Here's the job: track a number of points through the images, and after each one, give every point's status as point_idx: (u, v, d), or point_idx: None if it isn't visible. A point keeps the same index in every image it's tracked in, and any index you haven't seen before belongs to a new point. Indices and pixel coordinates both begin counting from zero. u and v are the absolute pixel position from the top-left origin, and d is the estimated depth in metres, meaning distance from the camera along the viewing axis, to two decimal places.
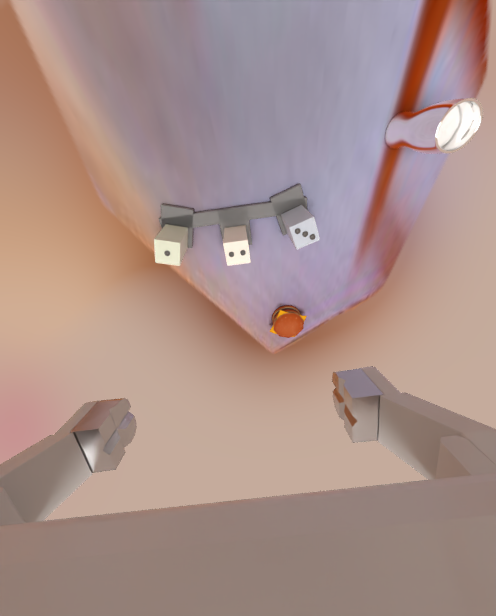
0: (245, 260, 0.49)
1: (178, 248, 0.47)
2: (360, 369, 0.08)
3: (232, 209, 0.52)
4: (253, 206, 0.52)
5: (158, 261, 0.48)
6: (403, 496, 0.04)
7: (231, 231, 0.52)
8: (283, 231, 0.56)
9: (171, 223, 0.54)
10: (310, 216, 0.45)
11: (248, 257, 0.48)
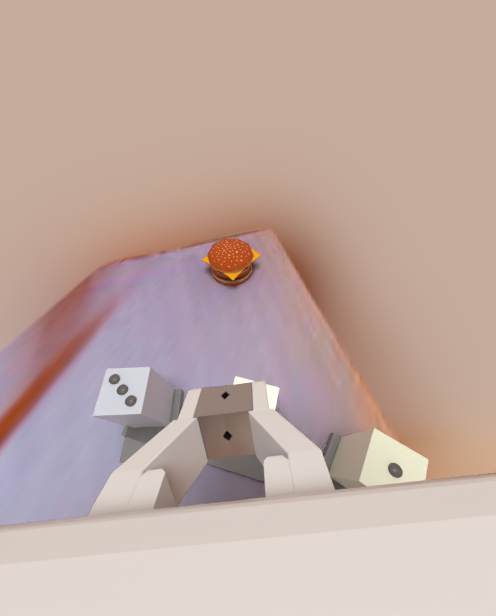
0: None
1: (366, 469, 0.21)
2: (249, 383, 0.08)
3: (239, 471, 0.30)
4: None
5: (419, 458, 0.22)
6: (404, 496, 0.04)
7: None
8: (178, 395, 0.35)
9: None
10: (100, 417, 0.25)
11: None
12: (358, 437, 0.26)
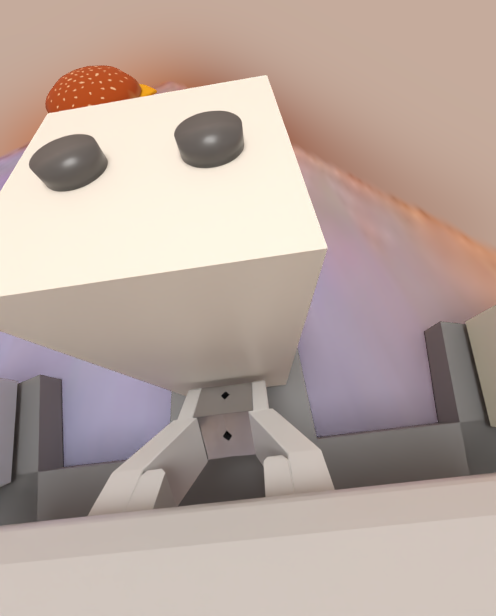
0: (84, 120, 0.05)
1: None
2: (250, 383, 0.08)
3: None
4: None
5: None
6: (403, 496, 0.04)
7: (241, 374, 0.08)
8: (34, 391, 0.13)
9: None
10: None
11: (43, 140, 0.05)
12: None
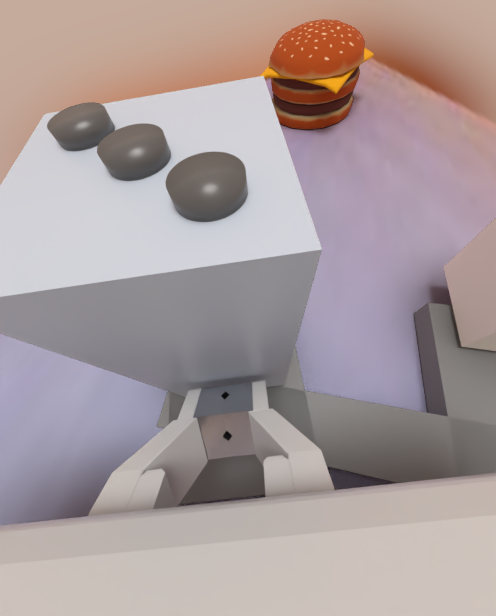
0: None
1: None
2: (249, 383, 0.08)
3: None
4: (422, 479, 0.10)
5: None
6: (404, 496, 0.04)
7: None
8: None
9: None
10: (21, 328, 0.04)
11: None
12: None
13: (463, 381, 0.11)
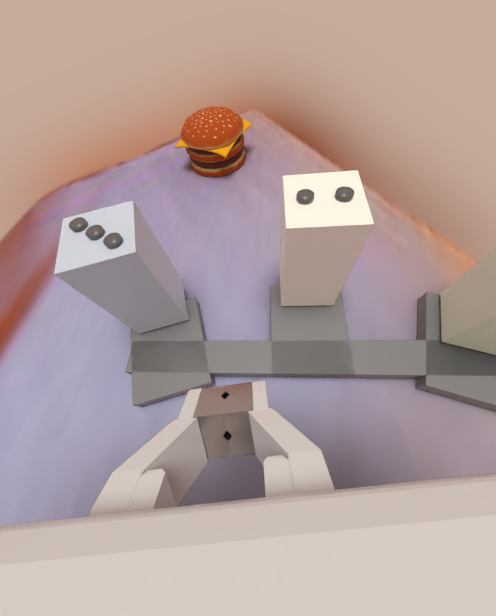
0: (298, 180, 0.16)
1: None
2: (250, 383, 0.08)
3: (312, 371, 0.20)
4: (255, 369, 0.20)
5: None
6: (404, 496, 0.04)
7: (321, 285, 0.19)
8: (193, 305, 0.24)
9: (491, 358, 0.19)
10: (71, 280, 0.15)
11: (287, 187, 0.15)
12: None
13: (280, 323, 0.22)
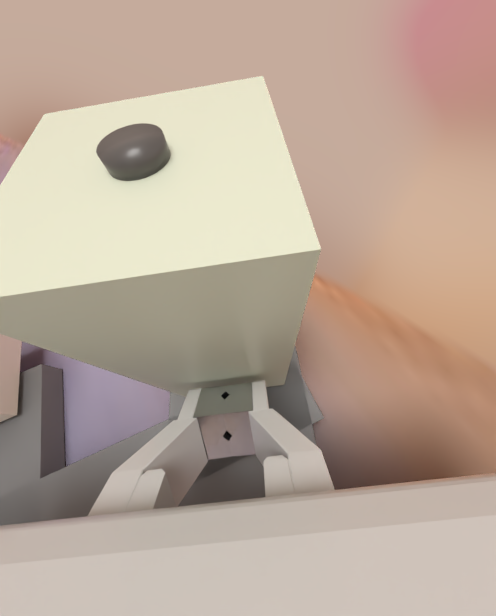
0: None
1: None
2: (249, 383, 0.08)
3: None
4: None
5: (232, 87, 0.05)
6: (404, 496, 0.04)
7: None
8: None
9: None
10: None
11: None
12: None
13: None
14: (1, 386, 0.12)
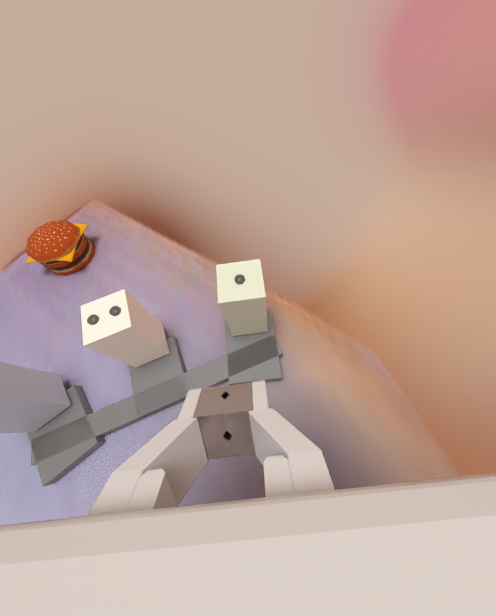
0: (90, 307, 0.25)
1: (220, 293, 0.25)
2: (250, 383, 0.08)
3: (163, 404, 0.30)
4: (126, 420, 0.29)
5: (254, 261, 0.26)
6: (404, 496, 0.04)
7: (145, 351, 0.29)
8: (73, 391, 0.32)
9: (261, 351, 0.32)
10: None
11: (84, 314, 0.25)
12: None
13: (138, 379, 0.32)
14: (164, 342, 0.32)
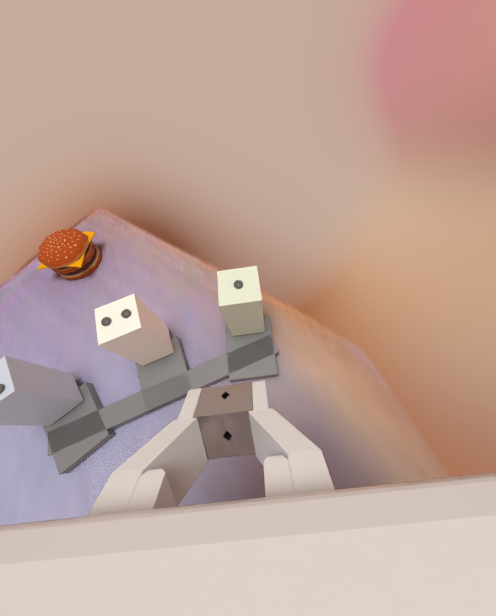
0: (103, 310, 0.28)
1: (221, 296, 0.27)
2: (250, 383, 0.08)
3: (168, 399, 0.32)
4: (135, 413, 0.32)
5: (251, 268, 0.29)
6: (403, 495, 0.04)
7: (152, 350, 0.32)
8: (85, 388, 0.34)
9: (259, 350, 0.34)
10: None
11: (97, 316, 0.28)
12: None
13: (145, 376, 0.34)
14: (169, 342, 0.35)
